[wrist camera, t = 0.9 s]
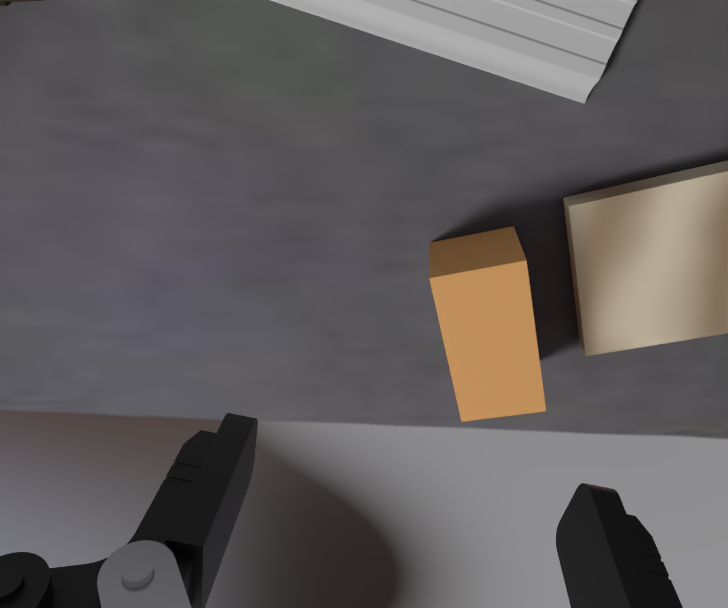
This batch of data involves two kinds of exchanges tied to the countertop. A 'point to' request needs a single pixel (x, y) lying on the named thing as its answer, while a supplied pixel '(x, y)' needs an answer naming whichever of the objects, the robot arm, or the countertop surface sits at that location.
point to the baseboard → (497, 34)
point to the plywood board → (650, 260)
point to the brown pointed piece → (6, 0)
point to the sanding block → (487, 323)
